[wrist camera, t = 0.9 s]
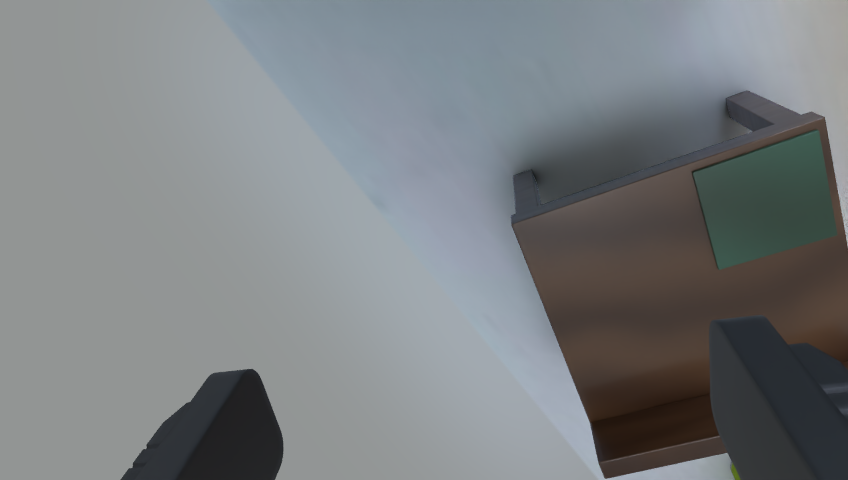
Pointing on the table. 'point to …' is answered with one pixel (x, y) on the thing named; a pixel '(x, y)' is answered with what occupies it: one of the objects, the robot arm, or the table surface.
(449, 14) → the table surface
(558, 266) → the small wooden table
